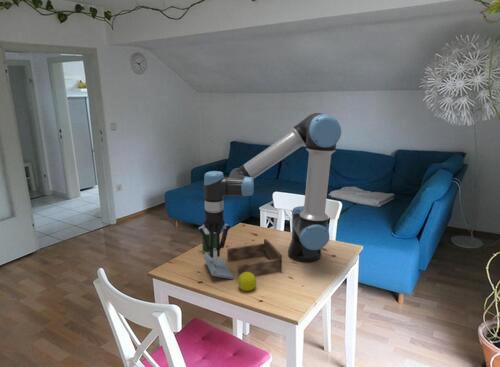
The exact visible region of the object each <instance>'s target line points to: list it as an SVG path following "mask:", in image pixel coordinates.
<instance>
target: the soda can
mask: <svg viewBox="0 0 500 367" xmlns="http://www.w3.org/2000/svg"><path fill="white" fill-rule="evenodd" d="M204 232H205V235H206V239H207V242H208V246H209V231H208V230H207V229H206V227H205V231H204ZM201 242H202V252H203V253H204V254H205V253H208V255H210V250H207V249H206V247H205V244H204V241H203V237H202V236H201ZM213 246H214V248H216V236H215V232H214V235H213Z"/></svg>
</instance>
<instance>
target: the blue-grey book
mask: <svg viewBox="0 0 500 367" xmlns="http://www.w3.org/2000/svg"><path fill="white" fill-rule="evenodd" d="M203 260H204V261H205V264H206V265H207V268H208V270H209V272H210V274H211V276H212V277H216V278H217V277H218V278H224V279H229V280H234V277H235V276H234V275H233V273H232V271H231V270H230V268H229V266H228V264H227V263H226V261H225V260H224V258H220V257H217V265H215V266H214V265H213V263H212V258H211V257H210V254H208V253H204V255H203Z"/></svg>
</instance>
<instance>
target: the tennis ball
mask: <svg viewBox="0 0 500 367" xmlns="http://www.w3.org/2000/svg"><path fill="white" fill-rule="evenodd" d="M237 285H238V286H239V288H240V290H242V291H243V292H249V291H252V290H254V289H255V287H256V285H257V278H256V276H254V274H253V273H250V272H244V273H242V274H240V276H239V278H238V277H237Z"/></svg>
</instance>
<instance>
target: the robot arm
mask: <svg viewBox="0 0 500 367" xmlns="http://www.w3.org/2000/svg"><path fill="white" fill-rule="evenodd" d="M341 127H342V126H341V124H340V123H339V121H338V120H337V119H336V118H335V117H334V116H332V115H330V114H326V113H321V112H315V113H311V114H309V115H308V116H306V117H305V118H303V120H301V121H300V122H298V123H297V124H296V125H294V126H293V127H292V128H291V131H290V132H288V133H287V134H286V135H284V136H283V137H281V138H280V139H279V140H277V141H276V142H274V143H273V144H271V145H269V146H268V147H267V148H265V149H264V150H262V151H261V152H260V153H258V154H257V155H256V156H254V157H252V158H251V159H250V160H248V161H247V162H245V163H244V164H242V165H241V166H239V167H238V168H237V167H236V168H233V169H232V170H231V172H230V173H229V176H224V172H222V171H219V170H218V171H217V170H212V171H208V172H205V173H204V178H203V179H204V180H203V181H204V182H203V189H204V192H203V193H204V194H203V195H204V210H205V211H204V222H203V225H202V226H198V230H199V232H200V233H201V238H202V237H203V241H204V244H205V247H206V249H207V250H210V254H209V256H210V257H211V258H212V263H213V265H214V266H215V265H217V258H220V253H221V249H224V248H225V244H226V240H227V237H228V232H229V230H230V228H231V226H230V225H229V224H228V223H226V222H225V219H224V215H225V214H224V206H225V205H224V197H246V196H249V197H250V196H253V194H254V191H255V190H254V188H255V184H254V179H256V178H257V177H258V176H260V175H261V174H263V173H264V172H266V171H267V170H268V169H271V167H273V166H275V165H276V164H277V163H279V162H281V161H283V160H284V159H285V158H287V157H288V156H290V155H291V154H293V153H294V152H296V151H297V150H299V148H300V149H301V147H305V150H306V151H307V152H308V161H307V172H306V181H305V193H304V194H305V195H304V201H303V202H304V204H303V206H302V205H299V206H296V207H293V208H292V214H291V216H292V217H291V219H292V220H291V222H292V224H291V241H290V243H289V246H288V249H287V256H288V258H289V259H292V260H293V261H296V262H300V263H312V262H313V263H314V262H316V261H319V260H320V259H321V257H322V249H323V248H324V247H326V246H327V245H328V242H329V241H330V231H329V229H328V222H329V215H328V214H327V213H326V206H327V196H328V187H329V177H330V169H331V160H332V155H333V153H335V152H336V150H337V143H338V142H339V141H340V139H341V135H342V128H341ZM205 227H206V229H207V230H208V231H209V246H208V242H207V239H206V235H205V232H204V231H205ZM222 229H223V231H222V234H221V230H222ZM214 232H215V236H216V248H214V246H213V235H214ZM220 235H221V238H220Z"/></svg>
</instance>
